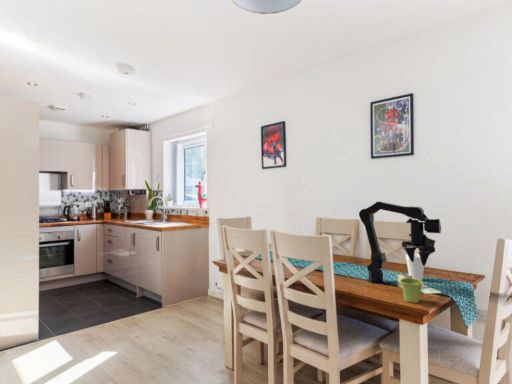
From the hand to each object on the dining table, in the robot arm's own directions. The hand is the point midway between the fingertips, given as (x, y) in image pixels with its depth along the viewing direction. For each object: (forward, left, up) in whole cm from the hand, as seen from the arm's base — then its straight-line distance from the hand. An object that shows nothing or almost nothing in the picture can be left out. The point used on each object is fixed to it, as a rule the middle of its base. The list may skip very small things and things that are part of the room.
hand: (418, 263), depth 164 cm
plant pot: (-15, -17, -12) cm, 25 cm away
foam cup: (+8, +14, -12) cm, 21 cm away
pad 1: (+1, +3, -12) cm, 13 cm away
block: (-6, +2, -12) cm, 14 cm away
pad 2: (+1, -6, -12) cm, 13 cm away
